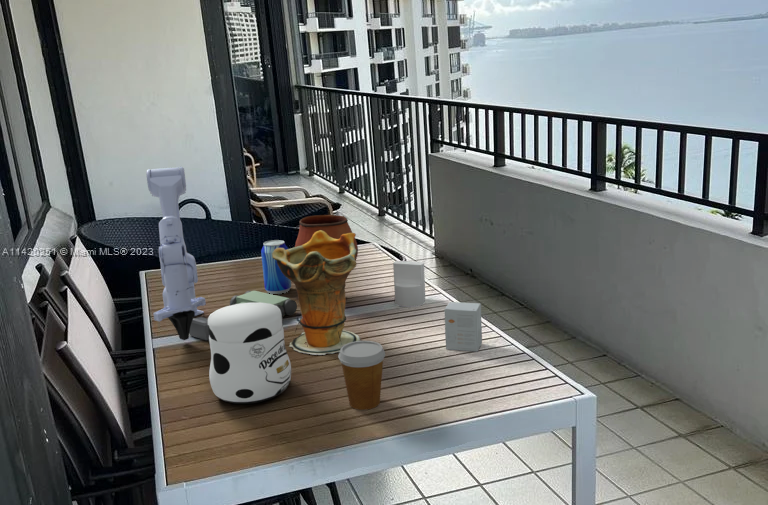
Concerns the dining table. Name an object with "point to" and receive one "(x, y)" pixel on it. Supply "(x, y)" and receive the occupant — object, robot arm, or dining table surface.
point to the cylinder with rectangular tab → (409, 283)
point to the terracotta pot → (323, 228)
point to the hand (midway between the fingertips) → (184, 338)
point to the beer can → (273, 269)
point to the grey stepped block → (199, 328)
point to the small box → (463, 326)
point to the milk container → (248, 353)
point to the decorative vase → (320, 290)
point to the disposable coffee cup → (362, 373)
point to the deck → (266, 301)
